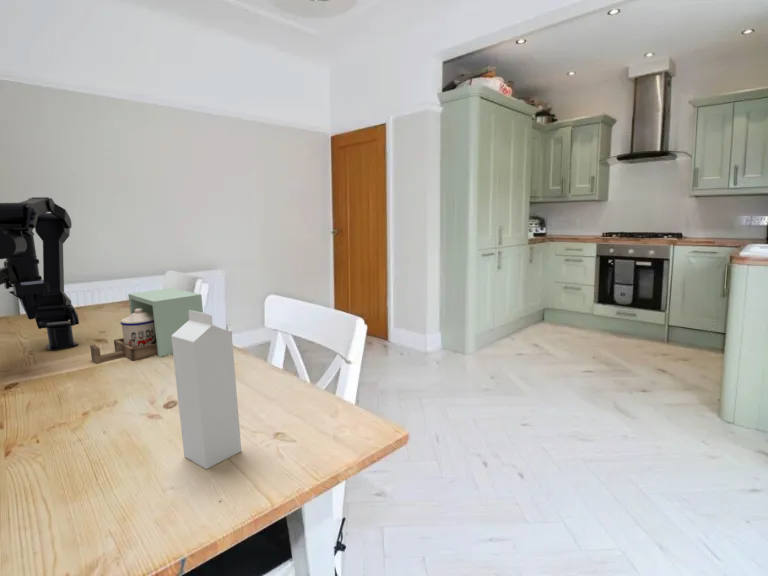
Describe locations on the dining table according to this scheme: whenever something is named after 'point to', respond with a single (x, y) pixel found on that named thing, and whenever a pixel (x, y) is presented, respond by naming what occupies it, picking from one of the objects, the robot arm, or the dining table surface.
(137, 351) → the tray
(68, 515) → the dining table surface
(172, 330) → the shelf
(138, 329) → the teacup with lid
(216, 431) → the milk
